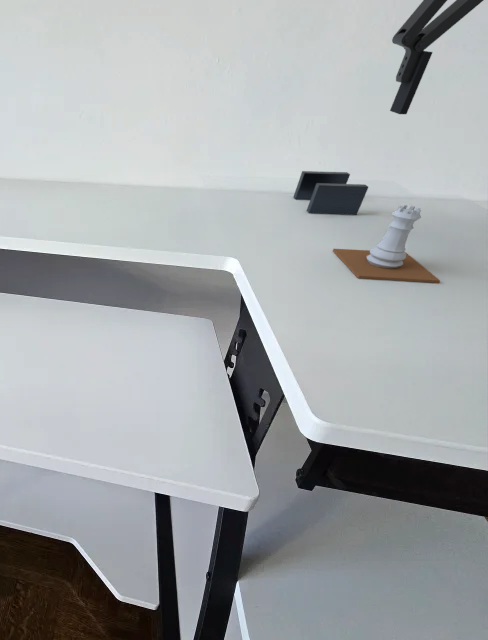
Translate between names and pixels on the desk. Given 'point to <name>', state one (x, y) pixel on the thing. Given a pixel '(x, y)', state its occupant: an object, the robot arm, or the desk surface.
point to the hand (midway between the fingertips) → (459, 112)
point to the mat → (365, 270)
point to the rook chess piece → (394, 239)
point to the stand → (330, 192)
